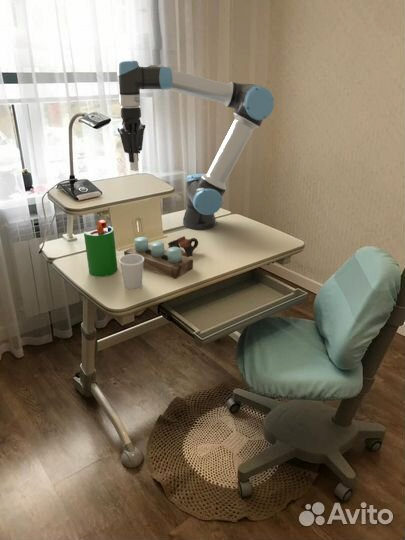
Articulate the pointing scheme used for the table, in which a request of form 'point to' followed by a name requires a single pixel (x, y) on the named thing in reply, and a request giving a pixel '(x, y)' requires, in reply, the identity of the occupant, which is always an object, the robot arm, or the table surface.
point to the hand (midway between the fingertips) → (134, 170)
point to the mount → (163, 263)
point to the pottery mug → (185, 245)
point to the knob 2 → (157, 249)
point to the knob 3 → (174, 254)
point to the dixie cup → (132, 270)
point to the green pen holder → (101, 251)
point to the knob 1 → (141, 244)
